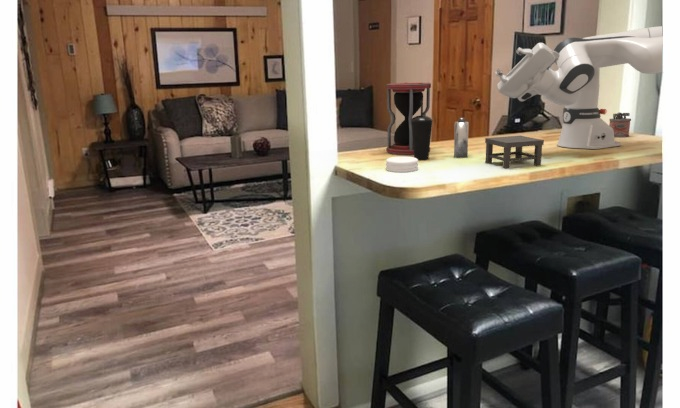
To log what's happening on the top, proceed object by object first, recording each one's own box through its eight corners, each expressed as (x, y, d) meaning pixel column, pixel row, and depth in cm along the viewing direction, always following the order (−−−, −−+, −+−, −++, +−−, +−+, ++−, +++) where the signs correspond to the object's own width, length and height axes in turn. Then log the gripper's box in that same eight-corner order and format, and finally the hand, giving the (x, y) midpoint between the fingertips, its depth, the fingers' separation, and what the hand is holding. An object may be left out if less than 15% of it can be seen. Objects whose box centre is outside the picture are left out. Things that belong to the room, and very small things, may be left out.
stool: (519, 159, 174) (520, 135, 171) (541, 165, 162) (543, 140, 160) (484, 162, 170) (485, 138, 168) (505, 169, 159) (506, 143, 157)
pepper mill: (463, 155, 185) (464, 116, 181) (469, 157, 180) (471, 117, 177) (451, 156, 183) (452, 117, 180) (457, 158, 179) (459, 118, 176)
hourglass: (433, 154, 188) (434, 83, 181) (388, 155, 188) (388, 84, 181) (426, 147, 203) (427, 81, 197) (384, 148, 203) (384, 83, 197)
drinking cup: (419, 156, 185) (419, 98, 180) (437, 158, 180) (438, 99, 175) (405, 159, 180) (405, 100, 175) (423, 161, 175) (424, 101, 170)
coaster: (379, 170, 164) (379, 159, 163) (399, 165, 171) (399, 155, 170) (404, 174, 157) (404, 163, 156) (424, 169, 164) (424, 158, 163)
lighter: (609, 137, 215) (611, 113, 212) (606, 136, 218) (609, 112, 215) (630, 137, 213) (633, 112, 211) (627, 136, 217) (630, 112, 214)
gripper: (565, 61, 164) (533, 42, 159) (518, 105, 178) (487, 88, 173) (560, 49, 168) (528, 30, 163) (514, 93, 182) (484, 77, 177)
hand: (507, 61), depth 168 cm, fingers open, 8 cm apart
